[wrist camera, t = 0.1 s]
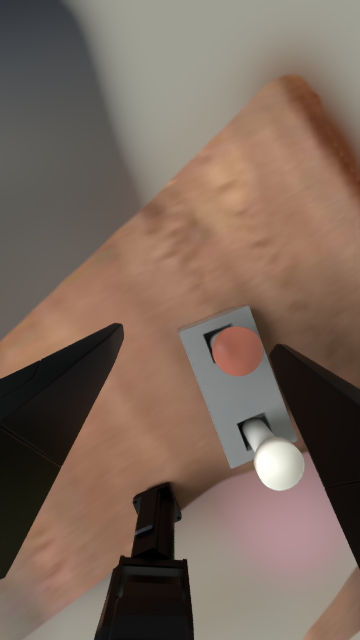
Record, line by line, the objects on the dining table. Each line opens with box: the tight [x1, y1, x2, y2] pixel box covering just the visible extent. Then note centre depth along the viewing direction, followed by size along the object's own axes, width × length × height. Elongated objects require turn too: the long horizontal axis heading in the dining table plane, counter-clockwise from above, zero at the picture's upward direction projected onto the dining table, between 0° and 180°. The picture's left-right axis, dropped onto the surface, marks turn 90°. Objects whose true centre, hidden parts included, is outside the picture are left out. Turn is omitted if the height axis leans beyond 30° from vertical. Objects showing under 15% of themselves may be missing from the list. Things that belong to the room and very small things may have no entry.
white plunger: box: [242, 417, 305, 491], centre depth 17 cm, size 5×5×5 cm
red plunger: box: [210, 326, 263, 376], centre depth 16 cm, size 5×5×5 cm
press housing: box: [178, 305, 298, 469], centre depth 21 cm, size 20×10×5 cm, turn 21°
